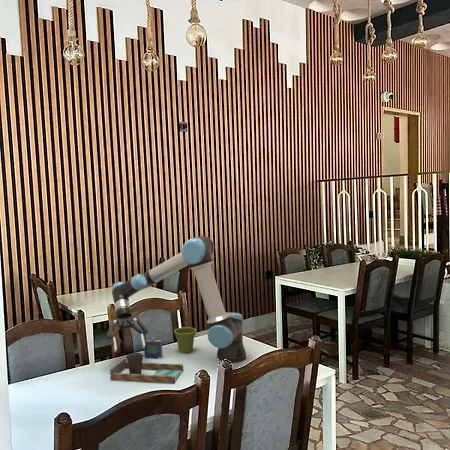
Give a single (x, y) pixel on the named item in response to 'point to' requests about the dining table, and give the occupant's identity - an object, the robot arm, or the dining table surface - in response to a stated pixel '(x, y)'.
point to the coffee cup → (135, 363)
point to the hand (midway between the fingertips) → (130, 348)
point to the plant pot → (185, 338)
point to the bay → (162, 375)
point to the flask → (153, 348)
